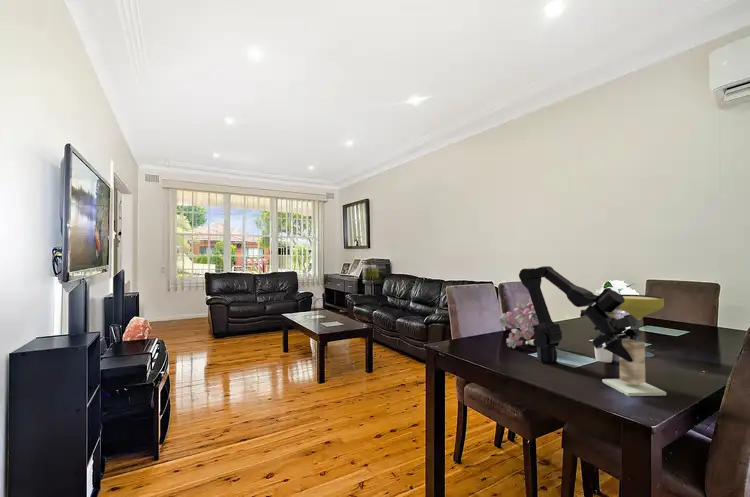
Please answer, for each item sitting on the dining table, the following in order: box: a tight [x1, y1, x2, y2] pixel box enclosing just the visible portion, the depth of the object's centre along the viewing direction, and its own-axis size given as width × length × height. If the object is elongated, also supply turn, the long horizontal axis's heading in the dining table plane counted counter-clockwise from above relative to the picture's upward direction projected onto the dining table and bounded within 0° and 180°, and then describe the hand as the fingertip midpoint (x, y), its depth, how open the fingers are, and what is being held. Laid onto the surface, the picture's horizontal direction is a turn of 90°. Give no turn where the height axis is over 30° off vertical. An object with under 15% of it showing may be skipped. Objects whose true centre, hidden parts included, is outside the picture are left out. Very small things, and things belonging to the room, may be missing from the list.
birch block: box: [618, 339, 646, 385], centre depth 115 cm, size 5×5×13 cm
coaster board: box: [601, 378, 667, 397], centre depth 115 cm, size 12×12×1 cm
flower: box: [497, 296, 539, 349], centre depth 170 cm, size 20×22×25 cm
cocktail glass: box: [617, 294, 665, 359], centre depth 154 cm, size 18×18×25 cm
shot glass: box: [593, 343, 614, 363], centre depth 146 cm, size 7×7×7 cm
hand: (636, 360), depth 114 cm, fingers closed on birch block, 5 cm apart
